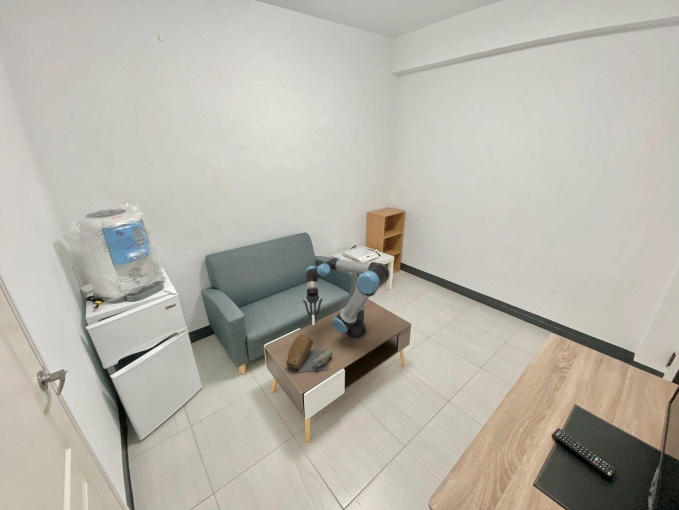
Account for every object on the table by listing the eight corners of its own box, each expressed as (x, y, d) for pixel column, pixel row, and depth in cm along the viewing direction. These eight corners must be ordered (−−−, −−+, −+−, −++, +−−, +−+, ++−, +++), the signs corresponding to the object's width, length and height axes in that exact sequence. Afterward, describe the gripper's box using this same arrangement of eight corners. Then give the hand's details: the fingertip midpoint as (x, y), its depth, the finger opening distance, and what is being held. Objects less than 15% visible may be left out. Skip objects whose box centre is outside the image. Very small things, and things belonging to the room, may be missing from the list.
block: (311, 336, 171) (296, 365, 158) (314, 342, 175) (300, 371, 162) (297, 332, 175) (281, 361, 162) (300, 339, 180) (285, 367, 167)
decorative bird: (334, 357, 171) (334, 348, 168) (317, 373, 160) (316, 363, 157) (328, 354, 175) (327, 344, 172) (310, 369, 163) (309, 359, 160)
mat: (327, 350, 178) (327, 349, 178) (328, 370, 163) (328, 369, 163) (299, 352, 177) (299, 351, 177) (298, 372, 162) (298, 372, 161)
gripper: (322, 290, 185) (323, 325, 176) (303, 291, 184) (303, 326, 175) (322, 287, 178) (323, 323, 169) (302, 288, 177) (302, 325, 168)
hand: (313, 325), depth 172 cm, fingers closed
